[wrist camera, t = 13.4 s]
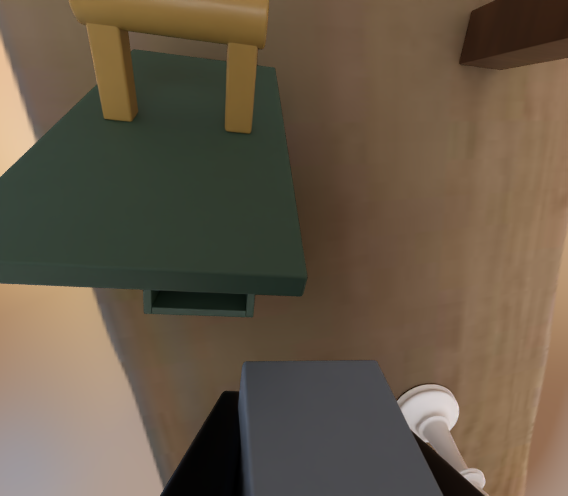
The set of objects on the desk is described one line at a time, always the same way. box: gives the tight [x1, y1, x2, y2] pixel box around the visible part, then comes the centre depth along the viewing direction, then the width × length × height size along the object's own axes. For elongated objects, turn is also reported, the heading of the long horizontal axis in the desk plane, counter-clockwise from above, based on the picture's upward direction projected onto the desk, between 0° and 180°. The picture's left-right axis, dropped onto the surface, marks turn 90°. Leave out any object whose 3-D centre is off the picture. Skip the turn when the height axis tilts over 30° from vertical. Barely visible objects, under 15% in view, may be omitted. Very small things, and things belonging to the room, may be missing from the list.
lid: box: [0, 0, 308, 296], centre depth 9 cm, size 12×6×4 cm
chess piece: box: [397, 384, 489, 496], centre depth 22 cm, size 5×5×10 cm
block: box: [235, 360, 443, 496], centre depth 7 cm, size 3×3×3 cm
